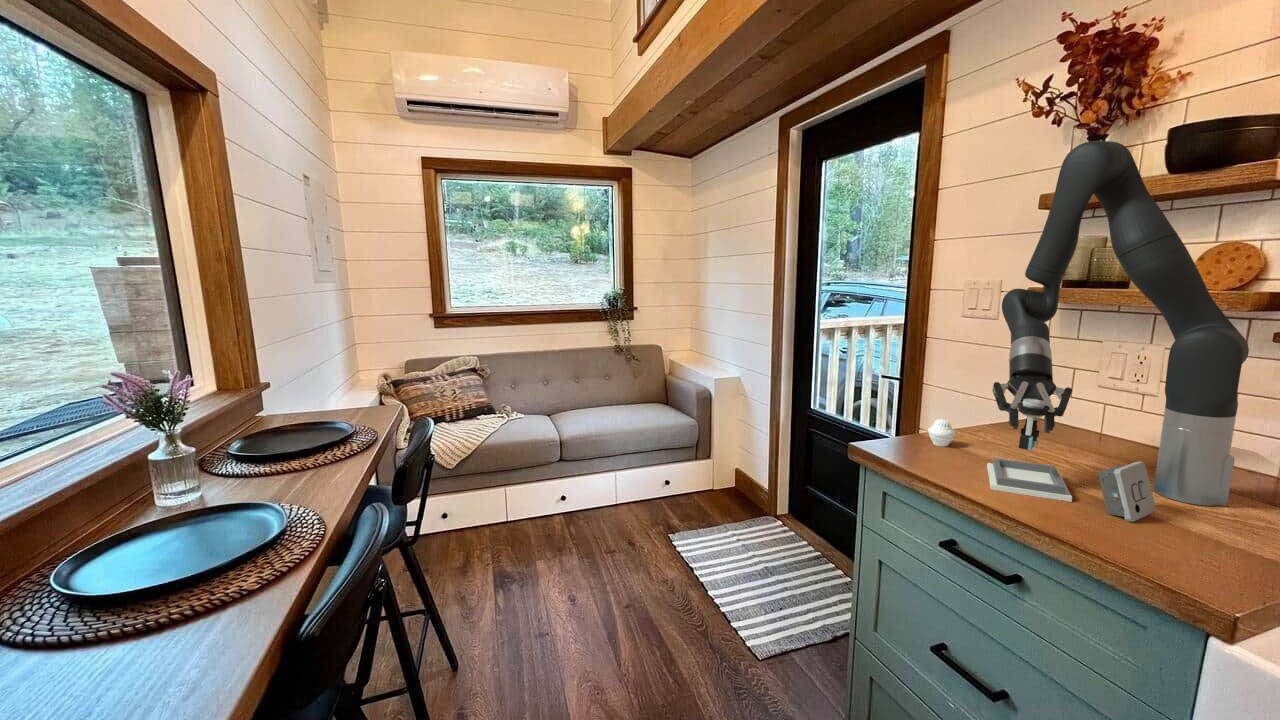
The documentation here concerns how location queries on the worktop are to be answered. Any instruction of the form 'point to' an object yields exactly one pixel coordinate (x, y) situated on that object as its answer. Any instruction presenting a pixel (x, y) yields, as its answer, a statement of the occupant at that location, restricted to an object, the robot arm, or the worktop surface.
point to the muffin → (941, 432)
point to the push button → (1031, 421)
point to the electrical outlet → (1127, 491)
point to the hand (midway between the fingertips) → (1031, 428)
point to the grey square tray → (1027, 479)
